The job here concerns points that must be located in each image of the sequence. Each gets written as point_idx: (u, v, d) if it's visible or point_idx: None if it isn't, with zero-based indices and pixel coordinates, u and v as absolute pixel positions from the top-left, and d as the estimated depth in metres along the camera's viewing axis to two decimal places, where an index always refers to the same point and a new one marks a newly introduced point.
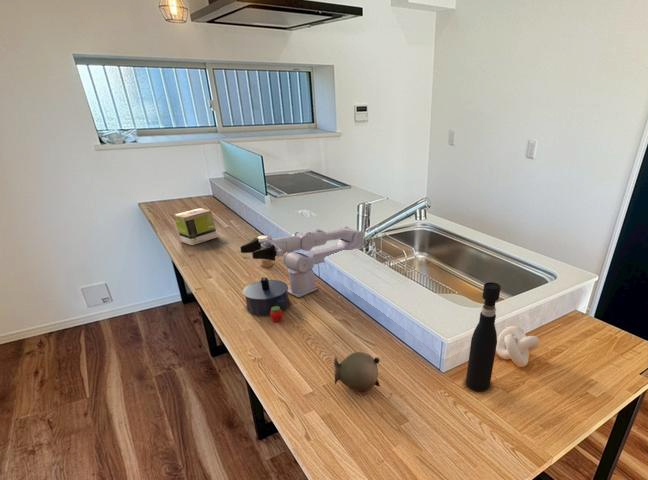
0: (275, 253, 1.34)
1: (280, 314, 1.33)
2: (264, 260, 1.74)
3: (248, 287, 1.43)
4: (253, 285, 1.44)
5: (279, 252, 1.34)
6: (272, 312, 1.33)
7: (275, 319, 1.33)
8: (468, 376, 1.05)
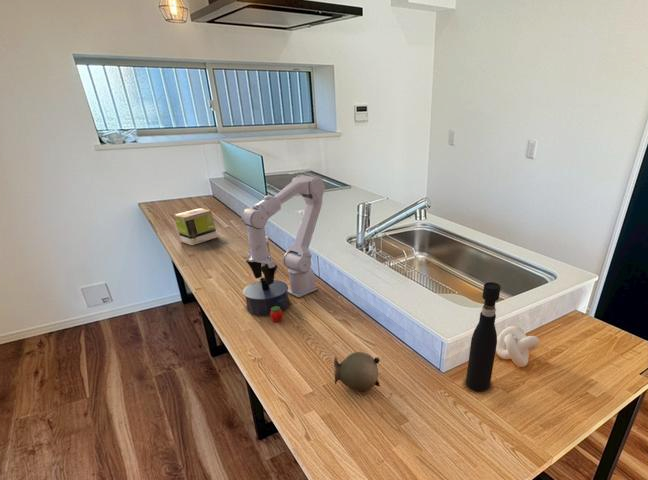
0: None
1: (280, 314, 1.33)
2: None
3: (248, 287, 1.43)
4: (253, 285, 1.44)
5: (271, 266, 1.32)
6: (272, 312, 1.33)
7: (275, 319, 1.33)
8: (468, 376, 1.05)
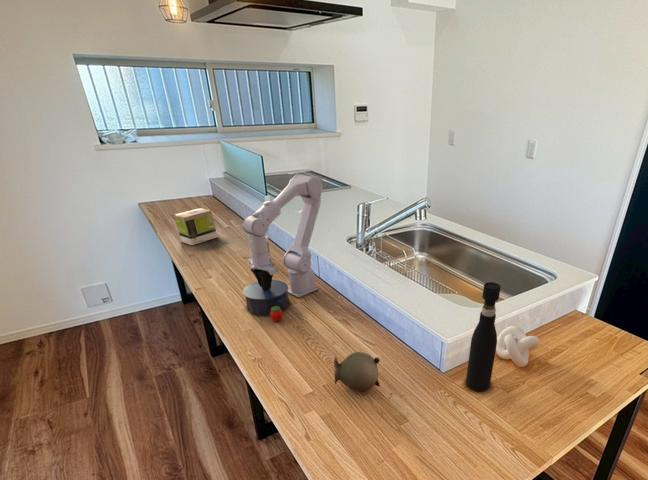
0: (268, 272, 1.36)
1: (280, 314, 1.33)
2: None
3: (248, 287, 1.43)
4: (253, 285, 1.44)
5: (272, 273, 1.33)
6: (272, 312, 1.33)
7: (275, 319, 1.33)
8: (468, 376, 1.05)
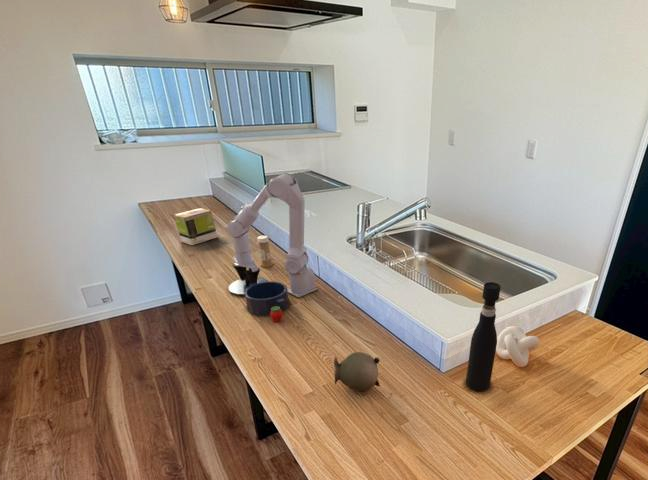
0: None
1: (280, 314, 1.33)
2: (264, 260, 1.74)
3: (233, 283, 1.59)
4: (238, 282, 1.60)
5: (254, 270, 1.49)
6: (272, 312, 1.33)
7: (275, 319, 1.33)
8: (468, 376, 1.05)
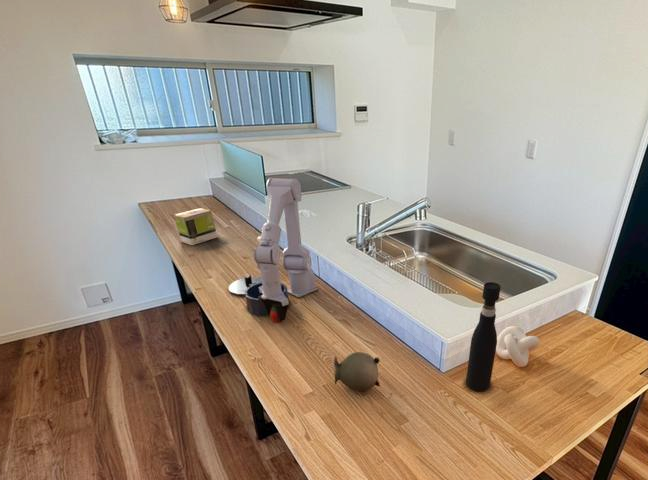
0: None
1: None
2: None
3: (233, 283, 1.59)
4: (238, 282, 1.60)
5: (284, 303, 1.26)
6: (272, 312, 1.33)
7: (275, 319, 1.33)
8: (468, 376, 1.05)
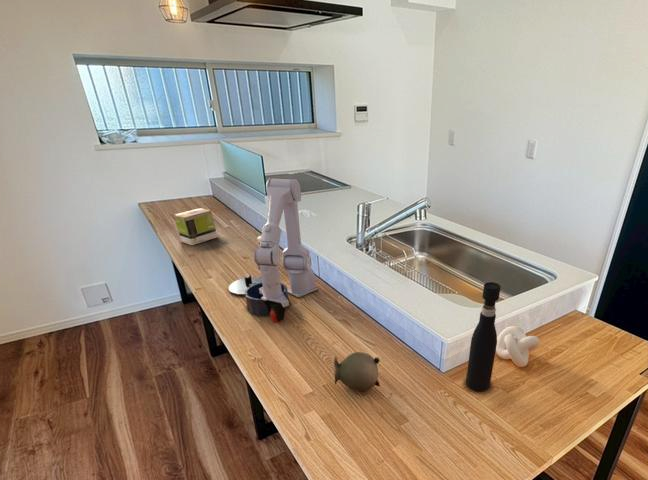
0: (282, 304, 1.29)
1: None
2: None
3: (233, 283, 1.59)
4: (238, 282, 1.60)
5: (285, 305, 1.27)
6: (272, 312, 1.33)
7: (275, 319, 1.33)
8: (468, 376, 1.05)
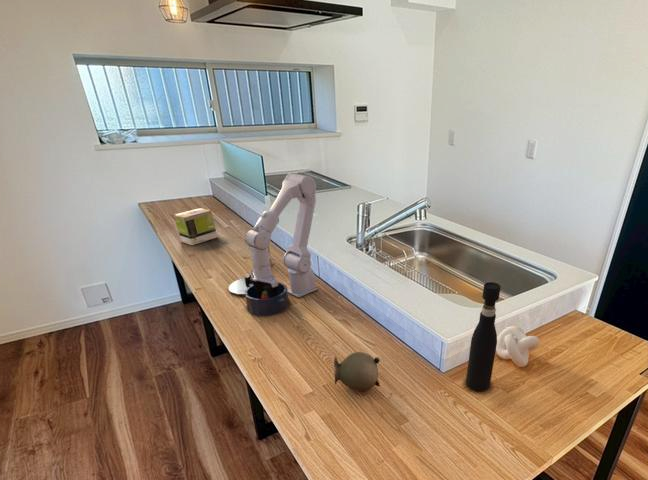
0: None
1: None
2: None
3: (233, 283, 1.59)
4: (238, 282, 1.60)
5: (274, 285, 1.35)
6: (263, 295, 1.42)
7: None
8: (468, 376, 1.05)
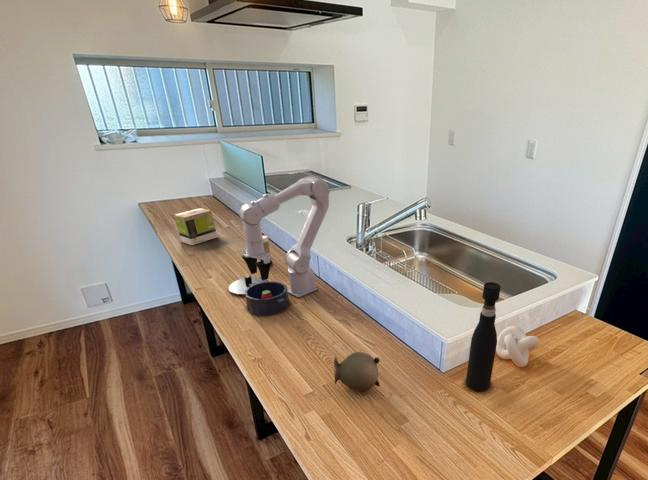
0: (266, 263, 1.36)
1: None
2: None
3: (233, 283, 1.59)
4: (238, 282, 1.60)
5: (266, 261, 1.35)
6: (263, 295, 1.42)
7: None
8: (468, 376, 1.05)
